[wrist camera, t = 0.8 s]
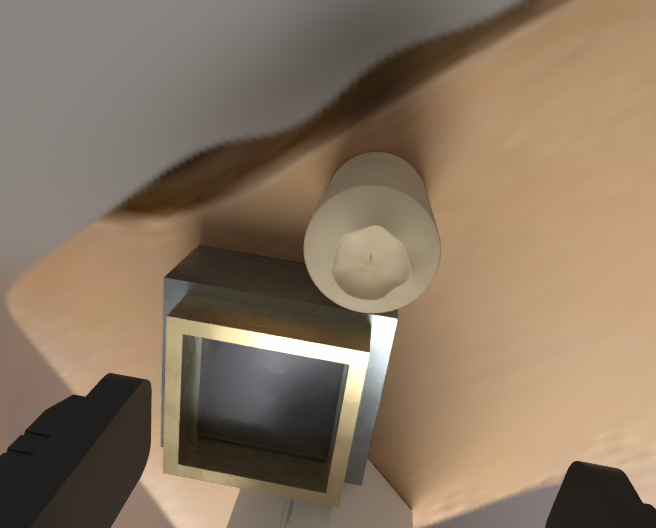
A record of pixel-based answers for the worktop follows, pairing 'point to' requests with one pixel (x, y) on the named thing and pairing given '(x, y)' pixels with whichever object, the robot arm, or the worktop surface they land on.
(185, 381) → the grey open box
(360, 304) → the candle
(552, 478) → the worktop surface
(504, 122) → the worktop surface
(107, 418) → the robot arm
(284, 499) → the tall white carton
